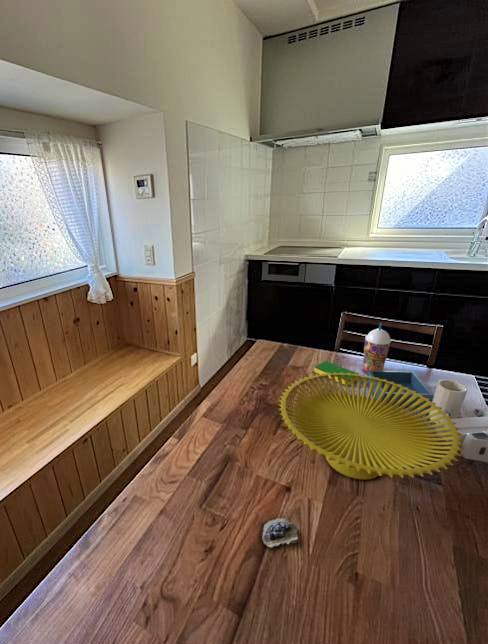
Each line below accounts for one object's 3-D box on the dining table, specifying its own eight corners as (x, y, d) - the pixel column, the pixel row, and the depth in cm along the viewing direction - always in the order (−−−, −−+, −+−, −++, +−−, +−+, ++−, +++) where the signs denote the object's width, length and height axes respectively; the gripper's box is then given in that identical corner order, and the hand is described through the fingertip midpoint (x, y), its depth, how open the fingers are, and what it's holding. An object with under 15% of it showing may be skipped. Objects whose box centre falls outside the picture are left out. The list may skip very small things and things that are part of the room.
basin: (410, 383, 119) (413, 371, 117) (430, 407, 106) (433, 395, 104) (366, 381, 122) (368, 370, 120) (380, 405, 109) (382, 393, 107)
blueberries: (304, 538, 70) (305, 532, 70) (276, 558, 67) (276, 552, 66) (281, 513, 76) (282, 508, 75) (253, 531, 72) (254, 525, 72)
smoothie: (361, 375, 126) (369, 326, 118) (358, 364, 133) (366, 317, 125) (386, 378, 123) (396, 328, 115) (382, 367, 130) (391, 319, 122)
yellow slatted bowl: (245, 464, 90) (246, 418, 84) (315, 397, 115) (319, 358, 109) (422, 571, 63) (441, 516, 57) (461, 453, 89) (478, 406, 82)
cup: (448, 413, 103) (458, 379, 98) (460, 427, 97) (472, 392, 92) (424, 412, 105) (433, 379, 100) (435, 426, 99) (445, 391, 94)
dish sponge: (348, 386, 120) (349, 380, 119) (313, 372, 130) (314, 366, 129) (358, 379, 124) (359, 373, 123) (324, 365, 134) (325, 360, 133)
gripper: (551, 433, 80) (501, 399, 93) (464, 438, 80) (426, 404, 93) (541, 453, 82) (494, 418, 95) (457, 458, 83) (421, 422, 95)
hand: (460, 411), depth 94 cm, fingers open, 8 cm apart
